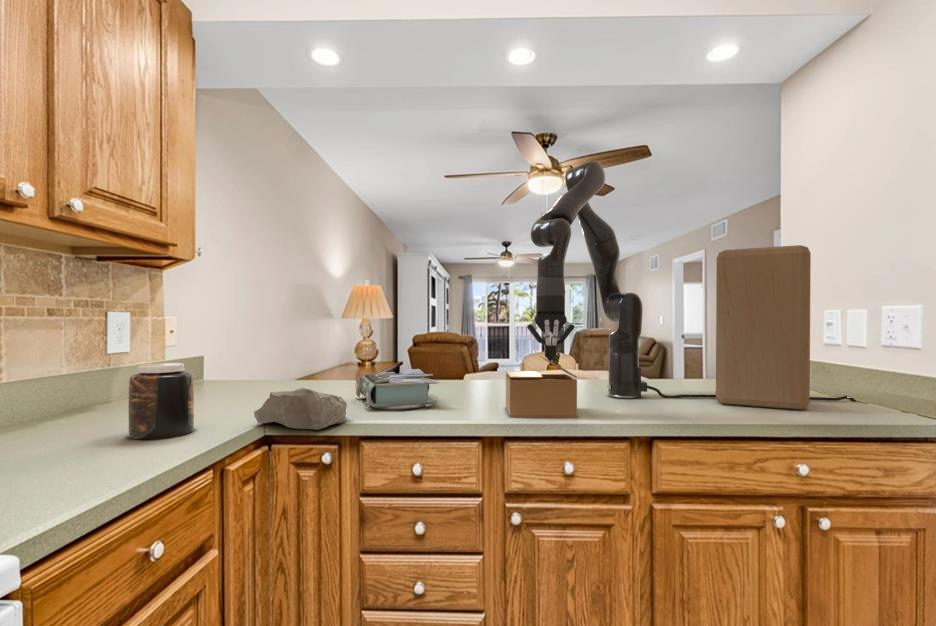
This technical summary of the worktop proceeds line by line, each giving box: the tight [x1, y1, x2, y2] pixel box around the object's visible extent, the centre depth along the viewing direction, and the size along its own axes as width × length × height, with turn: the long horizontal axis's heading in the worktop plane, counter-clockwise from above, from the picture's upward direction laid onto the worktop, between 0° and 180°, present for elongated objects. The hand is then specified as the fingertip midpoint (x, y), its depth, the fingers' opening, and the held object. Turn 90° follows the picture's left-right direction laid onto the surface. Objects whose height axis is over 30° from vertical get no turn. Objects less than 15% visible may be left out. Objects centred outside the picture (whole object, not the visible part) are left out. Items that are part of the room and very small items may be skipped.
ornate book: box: [354, 368, 446, 410], centre depth 144 cm, size 23×10×30 cm
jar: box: [128, 362, 195, 441], centre depth 105 cm, size 12×12×15 cm
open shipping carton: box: [505, 370, 578, 418], centre depth 129 cm, size 17×13×10 cm
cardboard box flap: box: [540, 355, 578, 379], centre depth 129 cm, size 8×13×1 cm
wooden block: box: [715, 244, 812, 411], centre depth 144 cm, size 22×22×45 cm
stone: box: [253, 387, 348, 431], centre depth 115 cm, size 18×10×20 cm
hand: (550, 359), depth 129 cm, fingers closed
